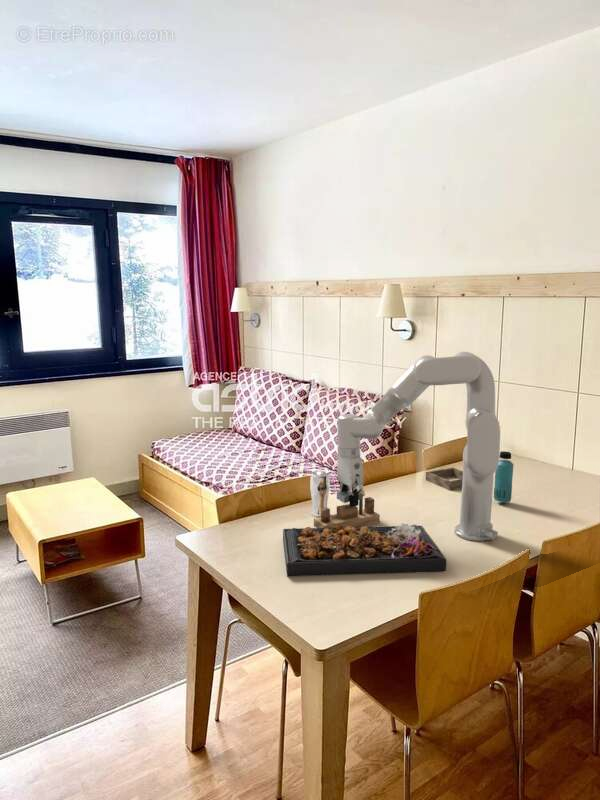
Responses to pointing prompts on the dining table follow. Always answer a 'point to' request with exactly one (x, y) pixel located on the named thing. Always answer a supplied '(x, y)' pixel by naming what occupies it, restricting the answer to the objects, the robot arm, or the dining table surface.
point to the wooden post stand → (348, 515)
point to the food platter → (360, 551)
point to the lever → (362, 492)
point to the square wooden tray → (439, 476)
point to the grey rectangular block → (346, 496)
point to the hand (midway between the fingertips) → (349, 502)
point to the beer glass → (319, 491)
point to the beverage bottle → (503, 478)
